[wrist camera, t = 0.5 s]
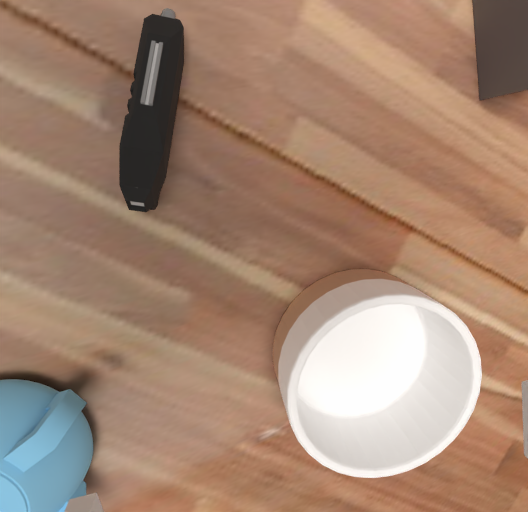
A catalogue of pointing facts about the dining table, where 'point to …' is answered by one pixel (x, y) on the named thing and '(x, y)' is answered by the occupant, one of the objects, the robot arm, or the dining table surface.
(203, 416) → the dining table surface
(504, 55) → the block
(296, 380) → the bowl
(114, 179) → the dining table surface
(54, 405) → the teapot
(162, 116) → the gun
